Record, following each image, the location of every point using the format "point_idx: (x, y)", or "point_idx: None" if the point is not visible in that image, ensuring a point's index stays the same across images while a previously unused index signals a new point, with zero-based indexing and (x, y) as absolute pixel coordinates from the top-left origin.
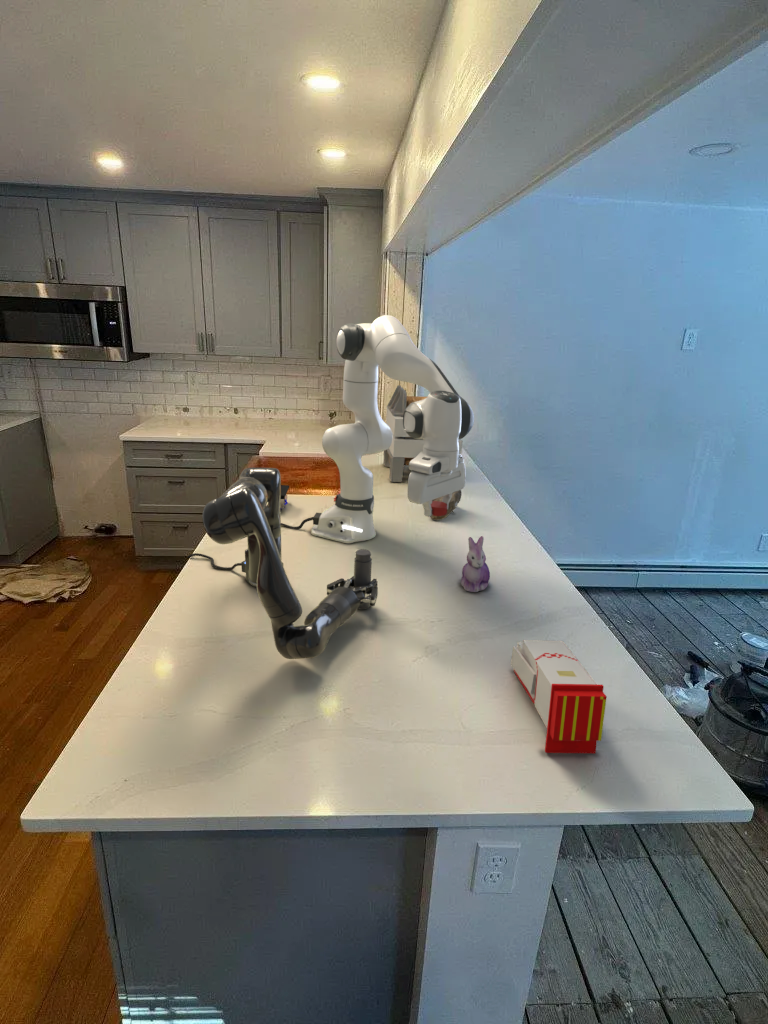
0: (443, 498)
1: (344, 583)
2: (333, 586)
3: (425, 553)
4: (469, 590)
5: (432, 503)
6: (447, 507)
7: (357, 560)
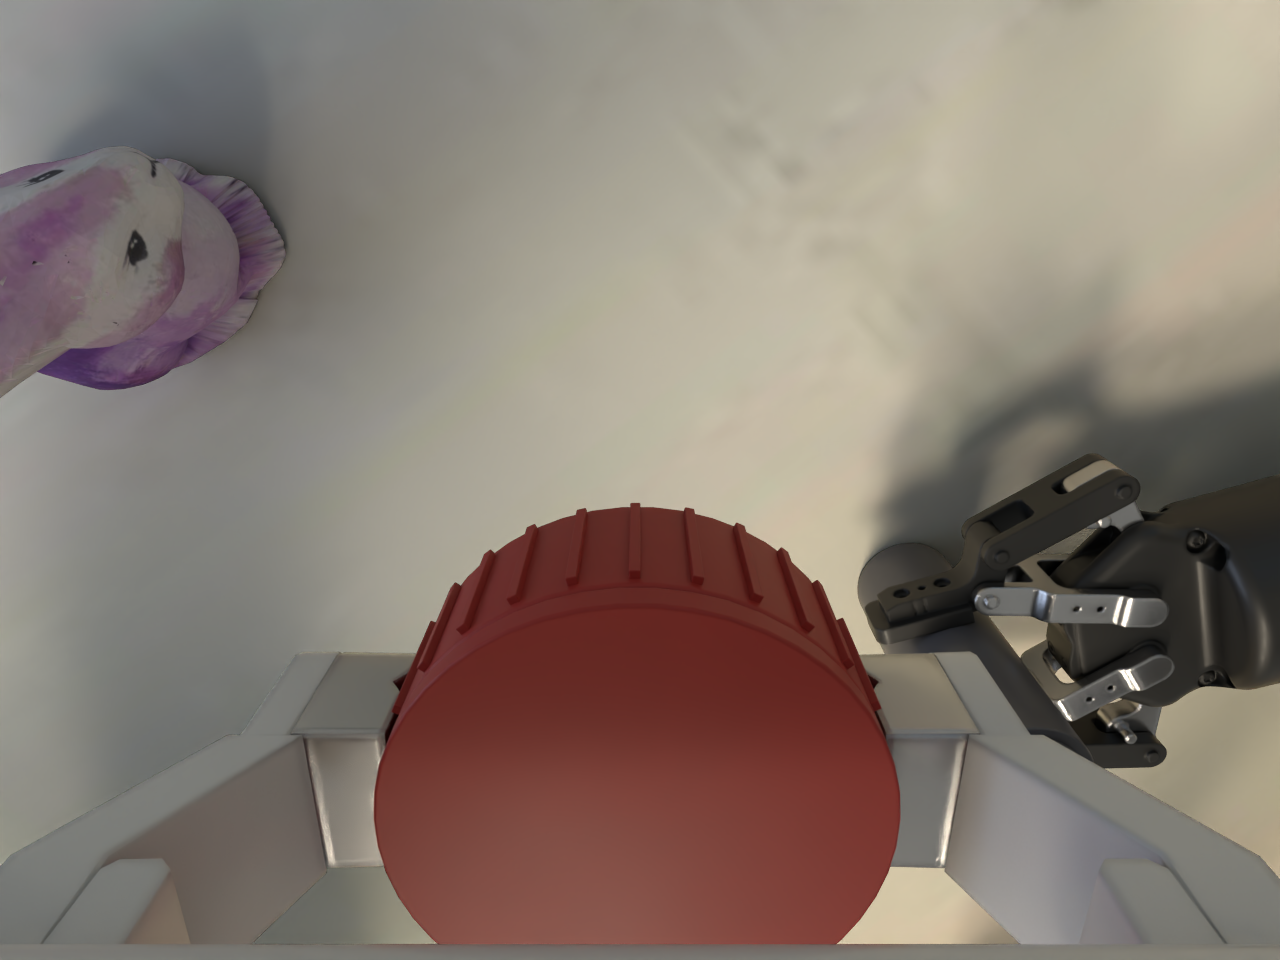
0: (238, 932)
1: None
2: (1135, 735)
3: (107, 733)
4: (271, 226)
5: (666, 919)
6: (314, 673)
7: None
